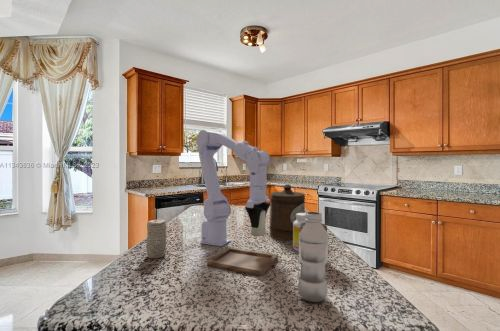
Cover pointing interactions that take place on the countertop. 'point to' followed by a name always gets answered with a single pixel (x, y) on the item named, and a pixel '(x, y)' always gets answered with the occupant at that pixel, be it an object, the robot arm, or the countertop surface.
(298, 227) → the supplement bottle
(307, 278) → the plastic bottle
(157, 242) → the carving
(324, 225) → the jar
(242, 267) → the tray
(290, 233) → the wooden container
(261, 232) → the cup
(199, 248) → the countertop surface
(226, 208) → the robot arm
